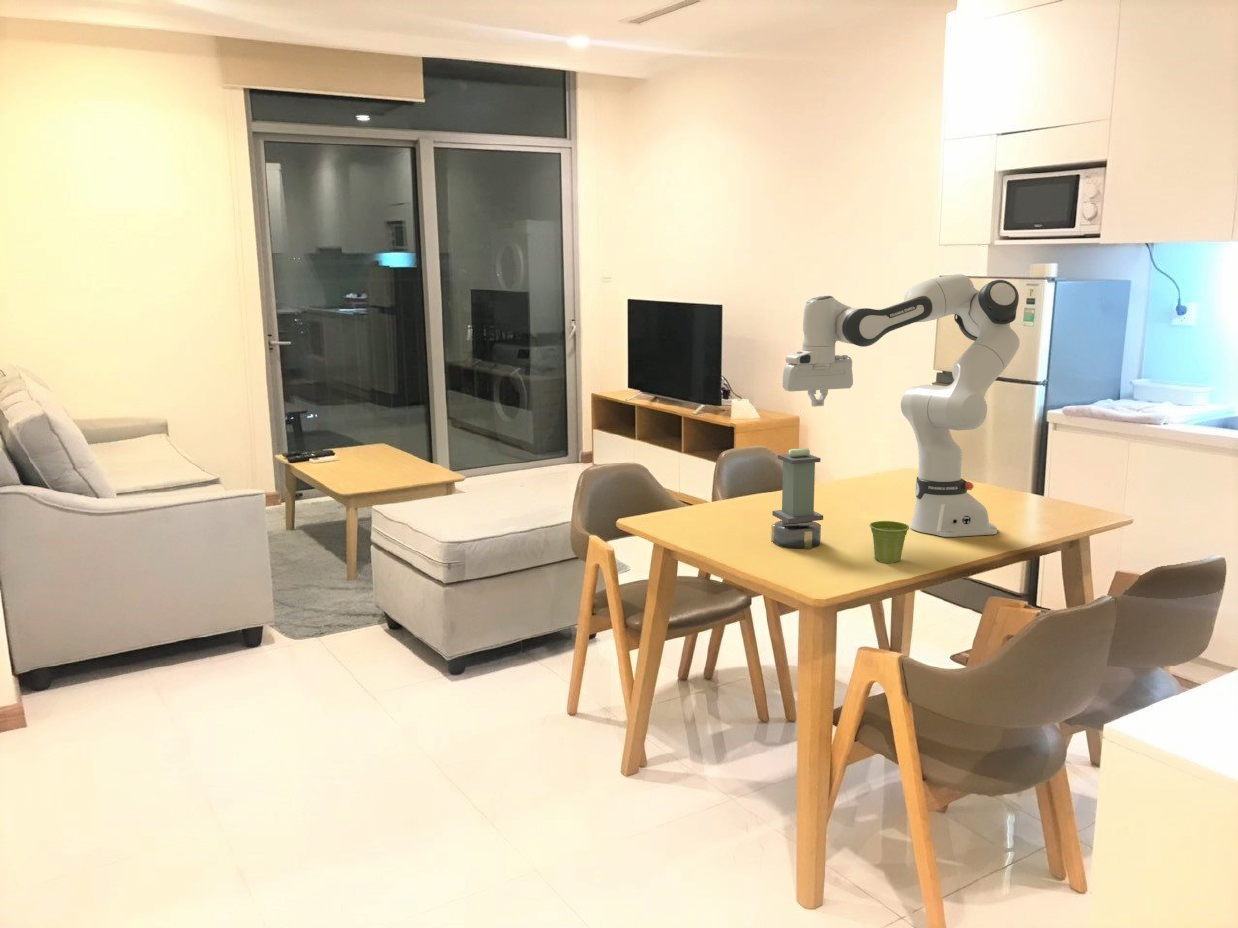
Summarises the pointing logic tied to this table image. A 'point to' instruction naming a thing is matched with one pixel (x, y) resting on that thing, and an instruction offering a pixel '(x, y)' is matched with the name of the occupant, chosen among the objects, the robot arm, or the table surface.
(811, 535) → the base
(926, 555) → the table surface
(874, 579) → the table surface
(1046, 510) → the table surface
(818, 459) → the green square column
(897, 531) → the plant pot
